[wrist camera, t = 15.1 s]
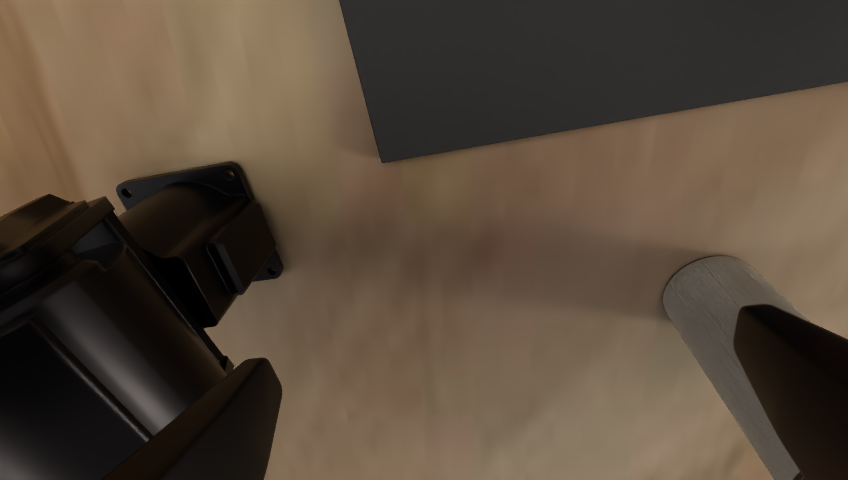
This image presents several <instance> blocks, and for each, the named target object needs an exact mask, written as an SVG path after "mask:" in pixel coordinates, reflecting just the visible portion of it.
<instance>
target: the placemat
mask: <svg viewBox="0 0 848 480" xmlns="http://www.w3.org/2000/svg"><path fill="white" fill-rule="evenodd" d="M339 2H340V5H341V9H342V13H343V17H344V21H345V24H346V28H347V32H348V36H349V40H350V44H351V47H352V51H353V55H354V59H355V63H356V67H357V70H358V74H359V78H360V82H361V86H362V90H363V93H364V97H365V101H366V105H367V109H368V113H369V116H370V120H371V124H372V128H373V132H374V136H375V139H376V143H377V147H378V151H379V155H380V159H381V162H382V163H385V162H391V161H397V160H403V159H408V158H414V157H420V156H425V155H431V154H437V153H442V152H448V151H454V150H460V149H465V148H471V147H477V146H482V145H488V144H494V143H500V142H505V141H511V140H517V139H522V138H528V137H534V136H539V135H545V134H551V133H557V132H562V131H568V130H574V129H579V128H585V127H591V126H597V125H602V124H608V123H614V122H619V121H625V120H631V119H636V118H642V117H648V116H654V115H659V114H665V113H671V112H676V111H682V110H688V109H694V108H699V107H705V106H711V105H716V104H722V103H728V102H733V101H739V100H745V99H751V98H756V97H762V96H768V95H773V94H779V93H785V92H791V91H796V90H802V89H808V88H813V87H819V86H825V85H830V84H836V83H842V82H848V0H339Z"/></svg>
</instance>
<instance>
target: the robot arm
mask: <svg viewBox="0 0 848 480" xmlns="http://www.w3.org/2000/svg"><path fill="white" fill-rule="evenodd" d="M227 170H231V171H232V172H233V173H234V176H231V175H229V173H228V171H227ZM127 189H128V190H130V191H131V193H132V194H130V193H129V192H128V191H127ZM116 191H117V194H118V196H119V198H120V199H121V201H122V203H123V204H124V206H125V208H126V210H127V211H126V212H124V213H123V214H121V215H120V216H118V217H117V216H116V215H115V213H114V212H113V211H114V210H115V208H114V207H113V206H112V204H111V203H110V202H109V200H108V199H107V198H106V196H104V197H101V198H98V199H96V200H93V201H90V202H86V201H85V200H84V201H80V202H77V203H75V202H74V201H73V202H69V201H66V200H64V199H61V198H59V197H56V196H54V195H51V194H48V195H45V196H42V197H40V198H37V199H35V200H33V201H31V202H29V203H27V204H25V205H23V206H21V207H19V208H17V209H15V210H13V211H11V212H9V213H7V214H5V215H3V216H1V217H0V480H264V476H265V473H266V469H267V465H268V461H269V457H270V452H271V447H272V443H273V438H274V433H275V428H276V423H277V418H278V413H279V408H280V403H281V399H282V387H281V383H280V381H279V379H278V377H277V375H276V373H275V371H274V369H273V367H272V366H271V364H270V362H269V360H267V359H266V358H253V359H248V360H245V361H244V362H242V363H241V364H240V365H239V366H238V367H236V368H235V369H234V370H233V368H234V364H233V363H232V362H231V361H230V359H229V358H228V357H227V356H223V354H222V353H221V352H220V350H219V349H218V348H217V347H216V345H215V344H214V343H213V341H212V340H211V339H210V337H209V336H208V335H207V333H206V332H205V331H204V330H203V329H204V328H207V327H214V326H216V325H217V324H218V323H219V321H220V320H221V318H222V317H223V316H224V314H225V313H226V311H227V310H228V309H229V307H230V306H231V304H232V303H233V302H234V300H235V299H236V297H237V296H238V295H242V294H244V293H245V291H246V290H247V288H248V287H249V285H250V284H251V283H252V282H254V281H261V280H268V279H275V278H278V277H279V276H280V275H281V273H282V272H283V269H284V268H283V264H282V262H281V259H280V257H279V255H278V252H277V250H276V242H275V240H274V237H273V235H272V233H271V230H270V228H269V226H268V223H267V221H266V218H265V216H264V214H263V211H262V209H261V207H260V204H259V203H258V202H256V201H255V198H254V196H253V194H252V191H251V189H250V187H249V184H248V182H247V180H246V177H245V175H244V173H243V170H242V169H241V167H240V166H239V165H238V164H237V163H234V162H224V163H219V164H213V165H208V166H203V167H197V168H192V169H187V170H181V171H176V172H170V173H165V174H160V175H154V176H149V177H144V178H138V179H133V180H127V181H125V182H123V183H121V184H119V185H118V186H117V188H116ZM270 267H273V268H275V269H276V271H274V270H272V269H271V268H270ZM733 347H734V351H735V354H736V356H737V358H738V360H739V362H740V364H741V366H742V368H743V370H744V372H745V374H746V376H747V378H748V380H749V382H750V384H751V386H752V388H753V390H754V392H755V394H756V395H757V397H758V399H759V401H760V403H761V405H762V407H763V409H764V411H765V413H766V415H767V417H768V419H769V421H770V423H771V425H772V427H773V429H774V430H775V432H776V434H777V436H778V437H779V439H780V441H781V442H782V444H783V446H784V447H785V449H786V450H787V452H788V454H789V455H790V457H791V458H792V460H793V461H794V463H795V464H796V466H797V468H798V469H799V471H800V472H801V474H802V475H803V477H804V478H805V480H848V339H846V338H844V337H841V336H839V335H837V334H835V333H833V332H830V331H828V330H826V329H824V328H822V327H819V326H817V325H815V324H813V323H811V322H808V321H806V320H804V319H802V318H800V317H797V316H795V315H793V314H791V313H789V312H786V311H784V310H782V309H780V308H778V307H775V306H773V305H771V304H755V305H746V306H743V307H741V308H740V310H739V312H738V316H737V321H736V327H735V332H734V337H733Z"/></svg>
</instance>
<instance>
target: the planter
mask: <svg viewBox="0 0 848 480" xmlns="http://www.w3.org/2000/svg"><path fill="white" fill-rule="evenodd" d="M755 304H771V305H773V306H775V307H778V308H780V309H782V310H784V311H786V312H789V313H791V314H793V315H795V316H797V317H800V318H802V319H804V320H806V321H808V322H810V321H809V320H808V319H807V318H806V317H804V316H803V315H802V314H801V313H800V312H799V311H798V310H797V309H796V308H795V307H794V306H793V305H792V304H791V303H790V302H789V301H787V300H786V299H785V298H784V297H783V296H782V295H781V294H780V293H779V292H778V291H777V290H776V289H775V288H774V287H773V286H772V285H770V284H769V283H768V282H767V281H766V280H765V279H764V278H763V277H762V276H761V275H760V274H759V273H758V272H757V271H756V270H754V269H753V268H752V267H751V266H749V265H748V264H747V263H745V262H744V261H742V260H740V259H737V258H734V257H729V256H714V257H708V258H704V259H700V260H698V261H695V262H693V263H691V264H689V265H687V266H685V267H684V268H682V269H681V270H680V271H679V272H677V273H676V274H675V275H674V276H673V277H672V279H671V280H670V281H669V283H668V284H667V286H666V288H665V291H664V294H663V305H664V308H665V311H666V312H667V314H668V316H669V318H670V319H671V321H672V323H673V324H674V326H675V327H676V329H677V330H678V332H679V333H680V335H681V336H682V338H683V340H684V341H685V343H686V344H687V346H688V347H689V349H690V350H691V352H692V353H693V355H694V356H695V358H696V360H697V361H698V363H699V364H700V366H701V367H702V369H703V370H704V372H705V373H706V375H707V377H708V378H709V380H710V381H711V383H712V384H713V386H714V387H715V389H716V390H717V392H718V393H719V395H720V397H721V398H722V400H723V401H724V403H725V404H726V406H727V407H728V409H729V410H730V412H731V414H732V415H733V417H734V418H735V420H736V421H737V423H738V424H739V426H740V427H741V429H742V430H743V432H744V434H745V435H746V437H747V438H748V440H749V441H750V443H751V444H752V446H753V447H754V449H755V451H756V452H757V454H758V455H759V457H760V458H761V460H762V461H763V463H764V464H765V466H766V467H767V469H768V471H769V472H770V474H771V475H772V477H773V478H774V480H805V478H804V477H803V475H802V474H801V472H800V471H799V469H798V468H797V466H796V464H795V463H794V461H793V460H792V458H791V457H790V455H789V454H788V452H787V450H786V449H785V447H784V446H783V444H782V442H781V441H780V439H779V437H778V436H777V434H776V432H775V430H774V429H773V427H772V425H771V423H770V421H769V419H768V417H767V415H766V413H765V411H764V409H763V407H762V405H761V403H760V401H759V399H758V397H757V395H756V394H755V392H754V390H753V388H752V386H751V384H750V382H749V380H748V378H747V376H746V374H745V372H744V370H743V368H742V366H741V364H740V362H739V360H738V358H737V356H736V354H735V351H734V347H733V337H734V332H735V327H736V321H737V316H738V312H739V310H740V308H741V307H743V306H746V305H755Z"/></svg>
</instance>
